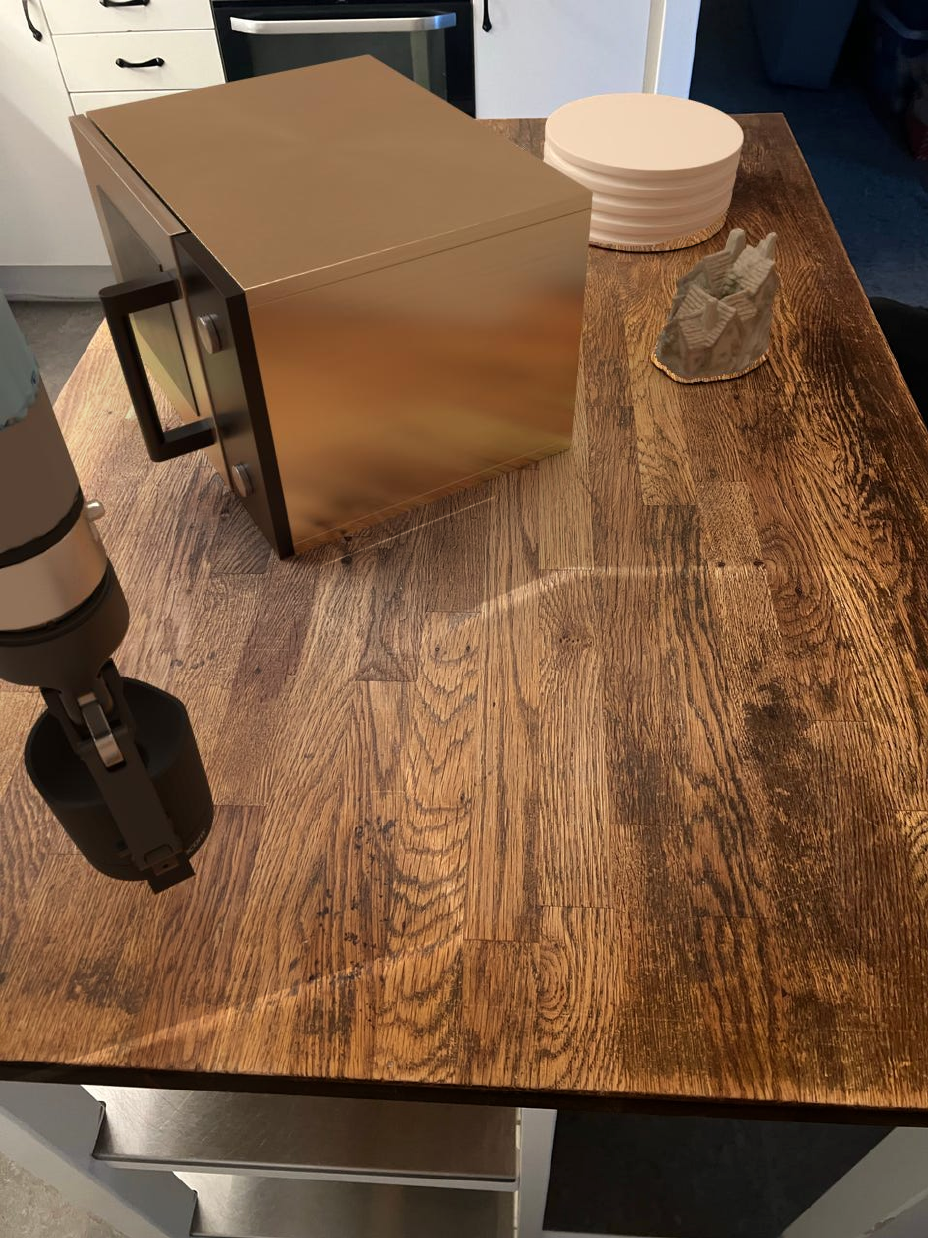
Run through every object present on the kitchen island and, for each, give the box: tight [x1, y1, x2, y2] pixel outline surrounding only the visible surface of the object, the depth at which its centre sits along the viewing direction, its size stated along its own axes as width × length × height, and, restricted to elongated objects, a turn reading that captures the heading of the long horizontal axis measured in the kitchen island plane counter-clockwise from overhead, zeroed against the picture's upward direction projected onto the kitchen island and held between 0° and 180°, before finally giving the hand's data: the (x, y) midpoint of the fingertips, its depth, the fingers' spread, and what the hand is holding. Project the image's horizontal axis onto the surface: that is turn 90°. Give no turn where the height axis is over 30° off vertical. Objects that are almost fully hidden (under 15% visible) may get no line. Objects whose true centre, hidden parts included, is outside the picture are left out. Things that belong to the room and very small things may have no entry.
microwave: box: [85, 53, 593, 561], centre depth 102 cm, size 35×44×28 cm
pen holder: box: [23, 675, 215, 882], centre depth 60 cm, size 9×9×10 cm
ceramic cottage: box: [652, 227, 782, 380], centre depth 114 cm, size 16×16×15 cm
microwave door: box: [68, 113, 235, 492], centre depth 99 cm, size 8×32×28 cm, turn 31°
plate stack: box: [542, 92, 745, 246], centre depth 141 cm, size 28×28×12 cm
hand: (149, 823), depth 64 cm, fingers closed on pen holder, 9 cm apart
